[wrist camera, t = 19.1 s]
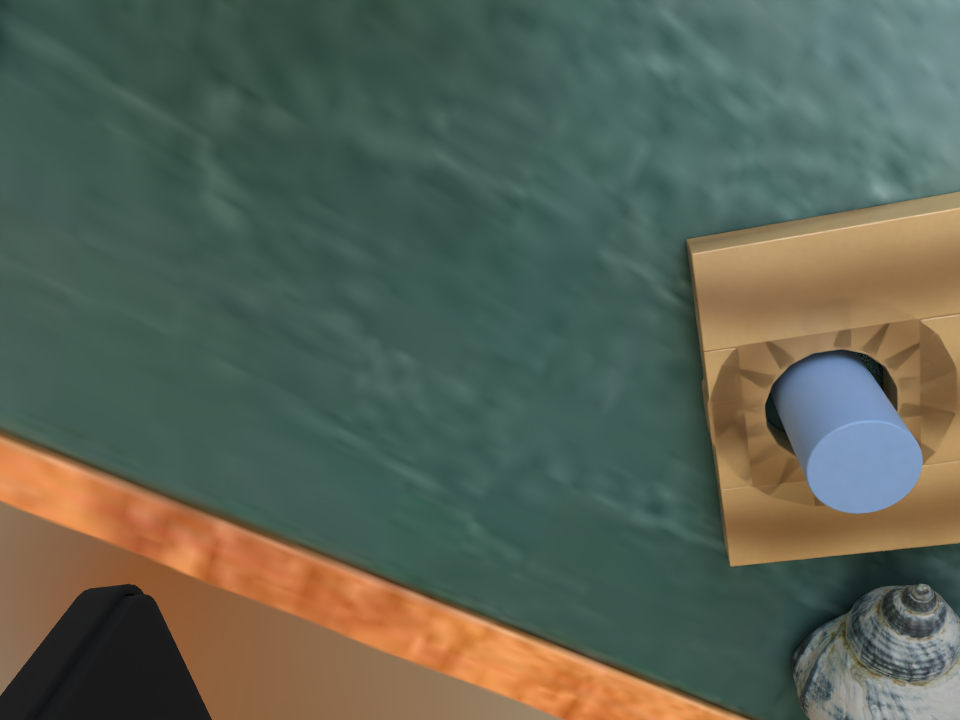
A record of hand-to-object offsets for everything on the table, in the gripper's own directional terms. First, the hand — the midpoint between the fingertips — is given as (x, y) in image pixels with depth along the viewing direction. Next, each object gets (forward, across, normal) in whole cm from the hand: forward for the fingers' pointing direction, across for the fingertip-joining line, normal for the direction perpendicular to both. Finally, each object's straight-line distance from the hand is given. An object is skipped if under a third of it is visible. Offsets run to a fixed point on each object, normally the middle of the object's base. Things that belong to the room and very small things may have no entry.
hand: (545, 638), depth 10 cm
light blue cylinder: (+28, -9, +13) cm, 32 cm away
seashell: (+28, -11, +28) cm, 41 cm away
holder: (+28, -10, +13) cm, 33 cm away
